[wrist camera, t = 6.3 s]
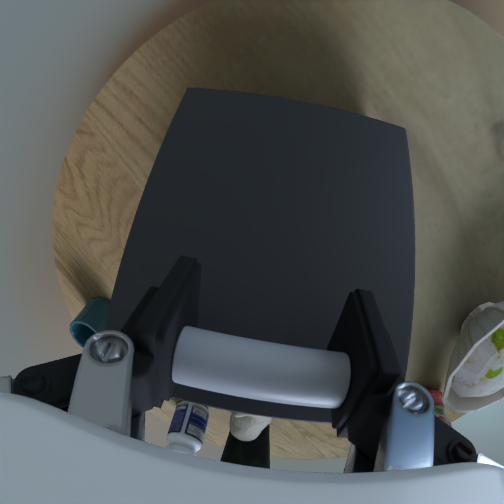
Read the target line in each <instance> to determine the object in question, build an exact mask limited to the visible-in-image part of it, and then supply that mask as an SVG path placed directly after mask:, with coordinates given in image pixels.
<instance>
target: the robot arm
mask: <svg viewBox="0 0 504 504" xmlns="http://www.w3.org/2000/svg"><path fill="white" fill-rule="evenodd" d="M201 273H202V263H197V258H193V257H188V256H183V255H181V256H180V257H179V259H178V260H177V262H176V263H175V265H174V266H173V268H172V269H171V270H170V272H169V273H168V275H167V276H166V278H165V279H164V281H163V282H162V284H161V286H160V287H155V286H151V287H150V288H149V289H148V291H147V292H146V294H145V295H144V296H143V298H142V299H141V301H140V302H139V304H138V305H137V307H136V308H135V310H134V311H133V313H132V314H131V316H130V317H129V319H128V320H127V322H126V323H125V325H124V326H123V328H122V329H121V331H120V332H119V331H114V330H105V331H101V332H98V333H96V334H94V335H92V336H91V337H90V338H89V339H88V340H87V342H86V344H85V346H84V349H83V353H82V354H78V355H74V356H71V357H67V358H63V359H59V360H55V361H51V362H48V363H43V364H39V365H35V366H31V367H28V368H26V369H24V370H23V371H21V372H20V373H19V374H18V375H17V377H16V378H15V379H12V377H11V376H4V377H0V504H504V467H503V466H502V465H500V464H498V463H496V462H495V461H493V460H491V459H489V458H487V457H486V456H484V455H482V454H481V453H478V454H477V455H476V451H475V448H474V446H473V444H472V443H471V442H470V441H469V440H468V439H467V438H465V437H464V436H462V435H461V434H460V433H459V432H457V431H456V430H454V429H453V428H452V427H450V426H449V425H448V424H446V423H445V422H443V421H442V420H441V419H439V418H438V417H437V416H435V415H434V402H433V398H432V396H431V394H430V392H429V391H428V390H427V389H426V388H425V387H423V386H422V385H421V384H418V383H416V382H411V381H406V382H405V381H404V378H403V374H402V371H401V368H400V365H399V362H398V359H397V356H396V353H395V350H394V347H393V344H392V341H391V338H390V335H389V332H388V331H387V330H386V328H385V325H384V322H383V319H382V317H381V314H380V311H379V308H378V306H377V303H376V300H375V298H374V295H373V293H372V291H369V290H363V289H356V290H355V291H354V292H350V293H349V295H348V297H347V300H346V302H345V305H344V307H343V310H342V313H341V315H340V317H339V320H338V322H337V325H336V327H335V330H334V332H333V334H332V337H331V339H330V341H329V344H328V346H327V351H335V352H344V353H346V354H347V355H348V356H349V358H350V362H351V381H350V386H349V390H348V394H347V396H346V399H345V401H344V403H343V404H342V405H341V406H340V407H339V408H336V409H333V408H331V419H332V427H333V428H334V429H337V437H343V438H348V440H349V441H350V442H351V443H352V444H351V446H350V450H349V454H348V458H347V462H346V465H345V468H344V472H343V473H318V472H299V471H286V470H275V469H267V468H259V467H251V466H245V465H238V464H233V463H227V462H222V461H216V460H211V459H207V458H202V457H197V456H193V455H189V454H185V453H181V452H177V451H174V450H170V449H166V448H163V447H160V446H156V445H153V444H149V443H147V442H144V436H145V411H147V410H150V409H153V407H154V406H155V407H159V408H161V406H162V403H163V401H164V400H166V401H169V400H170V398H171V395H172V393H173V390H174V387H175V385H176V383H175V382H174V381H173V380H172V375H171V365H172V357H173V352H174V348H175V344H176V341H177V338H178V336H179V334H180V332H181V330H182V328H183V327H185V326H190V327H195V328H197V325H198V313H199V299H200V285H201Z"/></svg>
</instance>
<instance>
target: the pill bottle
mask: <svg viewBox="0 0 504 504" xmlns="http://www.w3.org/2000/svg"><path fill="white" fill-rule="evenodd" d="M208 418H209V411H208V409H207V408H206V407H205V406H203V405H199V404H195V403H191V402H187V401H182V402H180V403H178V405H177V407H176V410H175V413H174V416H173V419H172V422H171V425H170V428H169V431H168V434H167V441H168V443H169V445H168V446H167V447H166V449H170V450H174V451H177V452H181V453H185V454H189V455H193V456H196V453H195V452H196V451H198V450H199V449H200V448H201V447H202V443H203V439H204V435H205V430H206V426H207V422H208Z"/></svg>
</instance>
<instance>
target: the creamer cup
mask: <svg viewBox="0 0 504 504" xmlns="http://www.w3.org/2000/svg"><path fill="white" fill-rule="evenodd" d="M109 306H110V301H109V300H107V299H105V298H102V297H95V298H93V299H91V301H90V302H89V303H88V304H87V305H86V306H85V307H84V308H83V310H82V311H81V312H80V313H79V314H78V315H77V317H76V318H75V319H74V320H73V321H72V323H71V324H70V332H71V334H72V337H73V338H74V339H75V340H76V342H77V343H78V344H79V345H80V346H81V347H83V348H84V346H85V344H86V342H87V340H88V339H89V338H90V337H91V336H92V335H94V334H96V333H98V332H101V331H104V329H105V324H106V319H107V315H108V311H109Z"/></svg>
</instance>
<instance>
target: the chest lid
mask: <svg viewBox="0 0 504 504" xmlns="http://www.w3.org/2000/svg"><path fill="white" fill-rule="evenodd" d="M181 255H183V256H188V257H193V258H197V263H202V273H201V285H200V299H199V313H198V325H197V328H195V327H190V326H185V327H183V328H182V330H181V332H180V334H179V336H178V338H177V341H176V344H175V348H174V352H173V357H172V365H171V375H172V380H173V381H174V382H175V383H176V385H175V387H174V390H173V393H172V395H171V398H175V399H179V400H183V401H187V402H191V403H195V404H199V405H204V406H208V407H213V408H218V409H222V410H228V411H233V412H238V413H244V414H250V415H256V416H263V417H270V418H278V419H286V420H295V421H305V422H317V423H331V424H332V419H331V408H333V409H336V408H339V407H340V406H341V405H342V404H343V403H344V401H345V399H346V396H347V394H348V390H349V386H350V381H351V362H350V358H349V356H348V355H347V354H346V353H344V352H335V351H327V346H328V344H329V341H330V339H331V337H332V334H333V332H334V330H335V327H336V325H337V322H338V320H339V317H340V315H341V313H342V310H343V307H344V305H345V302H346V300H347V297H348V295H349V293H350V292H354V291H355V290H356V289H363V290H369V291H372V293H373V295H374V298H375V300H376V303H377V306H378V308H379V311H380V314H381V317H382V319H383V322H384V325H385V328H386V330H387V331H388V332H389V335H390V338H391V341H392V344H393V347H394V350H395V353H396V356H397V359H398V362H399V365H400V368H401V371H402V374H403V378H404V381H405V376H406V370H407V363H408V356H409V348H410V339H411V330H412V319H413V305H414V287H415V218H414V199H413V186H412V175H411V165H410V157H409V149H408V142H407V135H406V129H405V128H402V127H399V126H396V125H393V124H390V123H387V122H383V121H380V120H377V119H373V118H370V117H366V116H363V115H359V114H355V113H351V112H347V111H343V110H339V109H335V108H331V107H326V106H322V105H317V104H312V103H308V102H302V101H297V100H292V99H286V98H280V97H274V96H267V95H260V94H253V93H245V92H237V91H227V90H216V89H203V88H187V90H186V92H185V94H184V96H183V98H182V100H181V102H180V105H179V107H178V109H177V111H176V113H175V115H174V118H173V120H172V122H171V124H170V127H169V129H168V131H167V133H166V136H165V138H164V140H163V143H162V145H161V148H160V150H159V153H158V155H157V157H156V160H155V162H154V165H153V168H152V170H151V173H150V175H149V178H148V181H147V183H146V186H145V189H144V192H143V194H142V197H141V200H140V203H139V206H138V209H137V212H136V215H135V218H134V221H133V224H132V227H131V230H130V233H129V236H128V240H127V243H126V246H125V250H124V253H123V256H122V260H121V263H120V267H119V271H118V274H117V278H116V282H115V286H114V290H113V294H112V298H111V302H110V306H109V311H108V315H107V319H106V324H105V329H104V331H105V330H114V331H119V332H120V331H121V329H122V328H123V326H124V325H125V323H126V322H127V320H128V319H129V317H130V316H131V314H132V313H133V311H134V310H135V308H136V307H137V305H138V304H139V302H140V301H141V299H142V298H143V296H144V295H145V294H146V292H147V291H148V289H149V288H150V287H151V286H155V287H160V286H161V284H162V282H163V281H164V279H165V278H166V276H167V275H168V273H169V272H170V270H171V269H172V268H173V266H174V265H175V263H176V262H177V260H178V259H179V257H180V256H181Z"/></svg>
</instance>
